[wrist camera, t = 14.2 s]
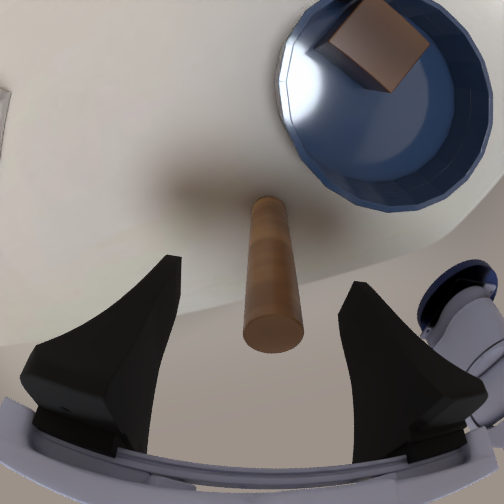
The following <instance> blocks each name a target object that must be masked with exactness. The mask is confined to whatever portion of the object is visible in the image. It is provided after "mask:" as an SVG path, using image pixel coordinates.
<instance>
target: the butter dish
mask: <svg viewBox="0 0 504 504" xmlns="http://www.w3.org/2000/svg"><path fill="white" fill-rule="evenodd" d="M10 96H11V92H9V91H6V90H3V89H0V154H1V145H2V138H3V132H4V126H5V120H6V115H7V110H8V105H9V100H10Z"/></svg>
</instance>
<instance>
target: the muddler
mask: <svg viewBox="0 0 504 504" xmlns="http://www.w3.org/2000/svg"><path fill="white" fill-rule="evenodd" d="M303 335H304V327H303V320H302V313H301V305H300V297H299V290H298V283H297V276H296V269H295V263H294V256H293V250H292V243H291V237H290V231H289V225H288V219H287V213H286V208H285V205H284V204H283V202H282V201H281V200H279V199H277V198H275V197H270V196H268V197H263V198H260V199H259V200H257V201H256V202H255V203H254V205H253V207H252V210H251V224H250V238H249V253H248V267H247V281H246V295H245V310H244V326H243V337H244V340H245V342H246V343H247V344H248V345H249V346H250V347H251V348H253V349H255V350H257V351H260V352H264V353H281V352H285V351H288V350H291V349H293V348H294V347H296V346H297V345H298V344H299V343H300V342H301V340H302V338H303Z"/></svg>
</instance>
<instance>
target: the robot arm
mask: <svg viewBox="0 0 504 504" xmlns="http://www.w3.org/2000/svg"><path fill="white" fill-rule="evenodd" d="M181 260H182V257H179V256H172V255H166V256H164V257H163V258H162V260H161V261H160V262H159V263H158V264H157V265H156V266H155V267H154V268H153V269H152V270H151V271H150V272H149V273H148V274H147V275H146V276H145V277H144V278H143V279H142V280H141V281H140V282H139V283H138V284H137V285H136V286H135V287H133V288H132V289H131V290H130V291H129V292H128V293H127V294H125V295H124V296H123V297H122V298H121V299H120V300H118V301H117V302H116V303H114V304H113V305H112V306H110V307H109V308H108V309H106V310H105V311H104V312H102V313H101V314H99V315H97V316H96V317H94V318H93V319H91V320H89V321H88V322H86V323H85V324H83V325H81V326H79V327H77V328H75V329H73V330H71V331H69V332H67V333H65V334H63V335H61V336H59V337H56V338H54V339H51V340H49V341H46V342H44V343H41V344H38V345H36V346H35V348H34V349H33V351H32V353H31V354H30V356H29V358H28V360H27V362H26V365H25V367H24V369H23V371H22V373H21V375H20V380H21V383H22V385H23V386H24V388H25V390H26V391H27V392H28V394H29V395H30V396H31V397H32V398H33V399H34V401H35V402H36V403H37V404H38V408H37V411H36V413H35V412H34V411H33V410H31V409H30V408H28V407H26V406H24V405H22V404H20V403H18V402H16V401H14V400H12V399H10V398H8V397H4V399H3V402H2V404H1V406H0V463H1V464H3V465H5V466H6V467H8V468H10V469H11V470H13V471H15V472H16V473H18V474H20V475H22V476H24V477H25V478H28V479H29V480H31V481H33V482H35V483H37V484H39V485H41V486H43V487H45V488H47V489H49V490H52V491H54V492H56V493H58V494H60V495H63V496H65V497H68V498H70V499H72V500H75V501H77V502H80V503H83V504H428V503H430V502H433V501H436V500H438V499H440V498H443V497H445V496H447V495H449V494H452V493H454V492H456V491H459V490H461V489H463V488H465V487H467V486H469V485H471V484H473V483H475V482H477V481H479V480H481V479H483V478H485V477H486V476H488V475H490V474H492V473H493V472H495V471H497V470H498V465H497V461H496V458H495V454H494V451H493V448H492V447H496V448H503V449H504V421H502V422H501V423H499V424H498V425H497V426H493V424H495V423H496V422H497V421H499V420H500V419H502V418H503V417H504V318H503V316H502V315H501V313H500V312H499V310H498V309H497V307H496V306H495V304H494V303H493V301H492V300H491V298H490V297H491V295H492V294H493V292H494V290H495V289H496V285H495V284H491V283H486V282H480V281H475V280H469V279H464V278H458V279H456V281H455V282H454V284H453V286H452V287H451V289H450V291H449V292H448V294H447V295H446V297H445V299H444V300H443V302H442V303H441V305H440V306H439V308H438V310H437V311H436V313H435V314H434V316H433V317H432V319H431V320H430V321H429V323H428V324H427V326H426V327H425V329H424V330H423V331H422V333H421V334H420V338H421V339H420V338H419V337H418V336H417V335H416V334H415V333H414V332H413V331H412V330H411V329H410V328H409V327H408V326H407V325H406V324H405V323H404V322H403V321H402V320H401V319H400V318H399V317H398V316H397V315H396V314H395V312H394V311H393V310H392V309H391V308H390V307H389V306H388V305H387V304H386V303H385V301H384V300H383V299H382V298H381V297H380V296H379V295H378V294H377V293H376V292H375V291H374V290H373V289H372V287H370V286H369V285H368V284H367V283H366V282H358V281H354V282H353V284H352V287H351V289H350V291H349V293H348V295H347V297H346V299H345V301H344V303H343V305H342V308H341V309H340V312H339V314H338V321H339V330H340V337H341V341H342V345H343V350H344V354H345V358H346V362H347V366H348V370H349V375H350V380H351V385H352V395H353V406H354V449H353V462H352V464H349V465H339V466H328V467H316V468H315V467H314V468H290V469H266V468H265V469H264V468H241V467H228V466H217V465H208V464H199V463H192V462H185V461H179V460H173V459H168V458H163V457H158V456H152V455H148V454H147V445H148V436H149V427H150V420H151V413H152V406H153V400H154V393H155V388H156V383H157V377H158V372H159V368H160V364H161V360H162V357H163V353H164V351H165V348H166V345H167V342H168V339H169V336H170V333H171V330H172V327H173V324H174V321H175V318H176V314H177V309H178V305H179V300H180V295H181ZM422 339H426V341H427V343H428V345H429V346H428V345H427V344H426V343H425V342H424V341H423V340H422ZM467 426H468V427H469V428H470V430H471V431H470V432H468V433H466V434H465V433H464V430H463V429H464V428H466V427H467ZM355 482H357V483H356V484H350V485H343V486H335V487H326V488H315V489H301V490H289V491H280V492H271V493H218V492H202V491H196V487H195V486H194V485H192V484H197V485H205V486H214V487H225V488H241V489H298V488H314V487H325V486H334V485H342V484H349V483H355ZM188 483H189V484H188Z"/></svg>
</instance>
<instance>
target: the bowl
mask: <svg viewBox="0 0 504 504" xmlns="http://www.w3.org/2000/svg"><path fill="white" fill-rule="evenodd" d="M356 1H357V0H320V1H318V2H317V3H315V4H314V5H312V6H311V7H310V8H308V9H307V10H306V11H305V12H304V14H303V15H302V17H301V18H300V20H299V21H298V23H297V24H296V26H295V27H294V29H293V30H292V32H291V34H290V35H289V37H288V38H287V40H286V41H285V43H284V45H283V46H282V48H281V50H280V54H279V59H278V63H277V68H276V74H275V79H274V84H275V92H276V99H277V105H278V112H279V115H280V117H281V119H282V121H283V123H284V125H285V127H286V129H287V132H288V134H289V136H290V138H291V140H292V142H293V144H294V146H295V148H296V151H297V153H298V155H299V157H300V158H301V160H302V161H303V162H304V163H305V164H306V165H307V167H308V168H309V169H310V170H311V171H312V172H313V173H314V174H315V175H316V177H317V178H318V179H319V180H320V181H321V182H322V183H323V184H324V186H325V187H327V188H328V189H330V190H332V191H333V192H335V193H337V194H338V195H340V196H342V197H343V198H345V199H347V200H348V201H350V202H351V203H353V204H355V205H357V206H361V207H366V208H370V209H374V210H378V211H382V212H386V213H392V212H404V211H417V210H420V209H423V208H425V207H427V206H430V205H432V204H435V203H437V202H439V201H442V200H444V199H446V198H447V197H448V196H450V195H451V194H452V193H453V192H454V191H455V190H457V189H458V188H459V187H460V186H461V185H463V184H464V183H465V182H466V181H467V180H468V179H469V177H470V176H471V174H472V173H473V171H474V170H475V168H476V167H477V165H478V163H479V162H480V160H481V159H482V157H483V155H484V153H485V149H486V146H487V143H488V140H489V136H490V133H491V129H492V125H493V92H492V87H491V83H490V79H489V76H488V72H487V68H486V65H485V61H484V59H483V57H482V55H481V54H480V52H479V50H478V48H477V47H476V45H475V43H474V41H473V40H472V38H471V36H470V35H469V33H468V32H467V31H466V29H465V28H464V27H463V26H462V25H461V24H460V23H459V22H458V21H457V20H456V19H455V18H454V17H453V16H452V15H451V14H450V13H449V12H448V11H447V10H446V9H445V8H444V7H442V6H441V5H440V4H438V3H436V2H434V1H433V0H384V1H385V2H386V3H387V4H389V5H390V6H391V7H392V8H393V9H394V10H396V11H397V12H398V13H399V14H400V15H401V16H402V17H403V18H405V19H406V20H407V21H408V22H409V23H410V24H411V25H412V26H413V27H414V28H415V29H416V30H417V31H418V32H419V33H420V34H421V35H422V36H423V37H424V38H425V39H426V40H427V41H428V42H429V43H430V45H429V47H428V48H427V49H426V50H425V52H424V53H423V54H422V56H421V57H420V58H419V59H418V61H417V62H416V63H415V64H414V66H413V67H412V68H411V69H410V71H409V72H408V73H407V75H406V76H405V77H404V78H403V80H402V81H401V82H400V83H399V85H398V86H397V87H396V88H395V90H394V91H393V92H392V93H386V92H380V91H375V90H368V89H365V88H363V87H362V86H361V85H360V84H359V83H358V82H356V81H355V80H354V79H353V78H351V77H350V76H349V75H348V74H346V73H345V72H344V71H343V70H341V69H340V68H339V67H337V66H336V65H335V64H333V63H332V62H331V61H329V60H328V59H327V58H325V57H324V56H323V55H321V54H320V53H318V52H317V51H316V50H314V47H315V46H316V45H317V44H318V42H319V41H320V40H321V39H322V38H323V36H324V35H325V34H326V33H327V32H328V30H329V29H330V28H331V27H332V26H333V24H334V23H335V22H336V21H337V20H338V19H339V17H340V16H341V15H342V14H343V13H344V12H345V10H346V9H347V8H348V7H349V6H350V5H352V4H353V3H354V2H356Z"/></svg>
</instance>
